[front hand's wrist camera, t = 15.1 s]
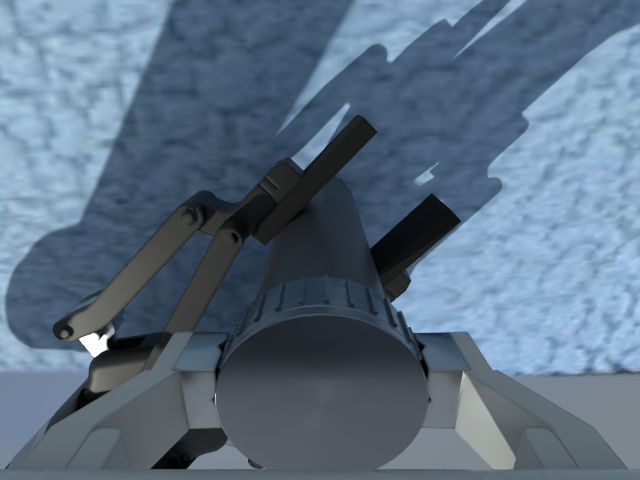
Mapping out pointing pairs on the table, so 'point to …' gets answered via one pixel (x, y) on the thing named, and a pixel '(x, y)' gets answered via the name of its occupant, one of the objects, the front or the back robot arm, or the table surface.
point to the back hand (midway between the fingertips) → (406, 166)
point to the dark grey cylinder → (322, 243)
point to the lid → (321, 378)
